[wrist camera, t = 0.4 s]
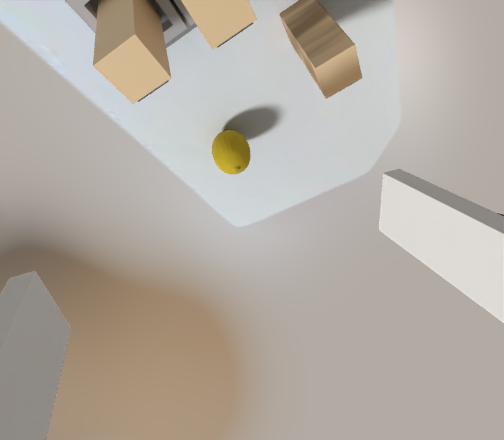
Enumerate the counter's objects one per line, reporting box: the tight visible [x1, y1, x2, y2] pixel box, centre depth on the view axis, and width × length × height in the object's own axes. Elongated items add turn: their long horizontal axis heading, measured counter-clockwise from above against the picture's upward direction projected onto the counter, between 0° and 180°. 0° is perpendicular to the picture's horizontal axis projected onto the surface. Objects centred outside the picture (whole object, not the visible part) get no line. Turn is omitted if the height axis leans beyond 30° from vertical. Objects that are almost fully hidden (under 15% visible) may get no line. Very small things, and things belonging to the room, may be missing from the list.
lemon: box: [212, 130, 250, 174], centre depth 47 cm, size 6×6×8 cm
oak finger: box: [280, 0, 362, 98], centre depth 35 cm, size 4×4×12 cm
